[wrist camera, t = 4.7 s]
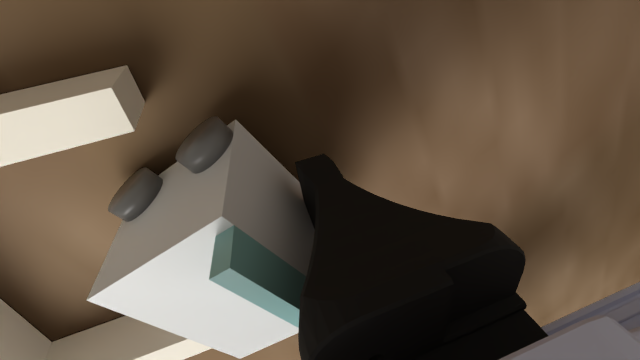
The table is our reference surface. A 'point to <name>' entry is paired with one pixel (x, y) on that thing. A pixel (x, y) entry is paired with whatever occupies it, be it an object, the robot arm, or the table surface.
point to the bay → (56, 135)
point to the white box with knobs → (211, 244)
